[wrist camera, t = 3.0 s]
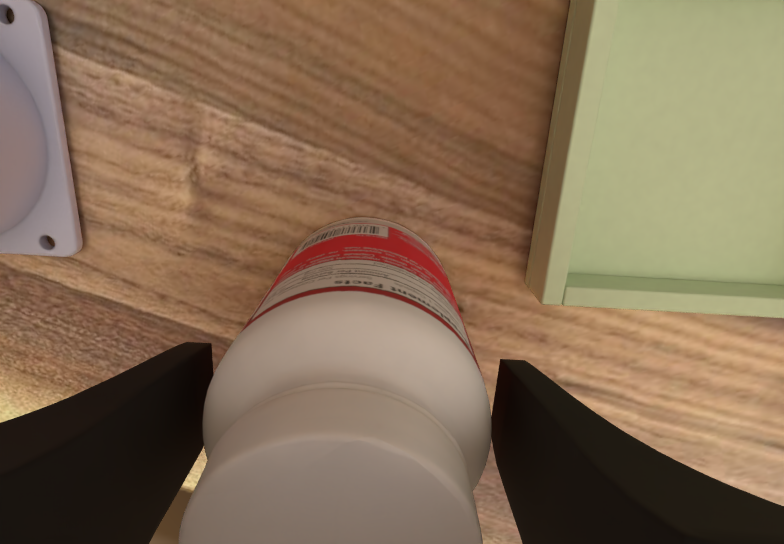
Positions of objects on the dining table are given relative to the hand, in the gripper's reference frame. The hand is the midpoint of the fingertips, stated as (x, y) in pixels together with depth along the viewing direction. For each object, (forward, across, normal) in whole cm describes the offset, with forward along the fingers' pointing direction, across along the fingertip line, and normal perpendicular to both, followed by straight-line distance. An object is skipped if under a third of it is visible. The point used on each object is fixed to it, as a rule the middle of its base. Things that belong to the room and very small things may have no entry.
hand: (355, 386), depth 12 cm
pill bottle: (+6, 0, 0) cm, 6 cm away
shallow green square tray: (+6, -11, -6) cm, 14 cm away
